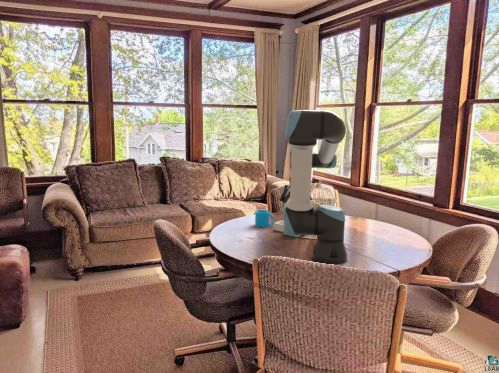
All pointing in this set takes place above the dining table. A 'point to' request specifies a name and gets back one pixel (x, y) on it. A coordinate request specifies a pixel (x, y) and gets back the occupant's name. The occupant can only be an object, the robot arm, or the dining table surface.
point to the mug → (263, 218)
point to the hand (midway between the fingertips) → (295, 216)
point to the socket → (289, 234)
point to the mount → (279, 226)
